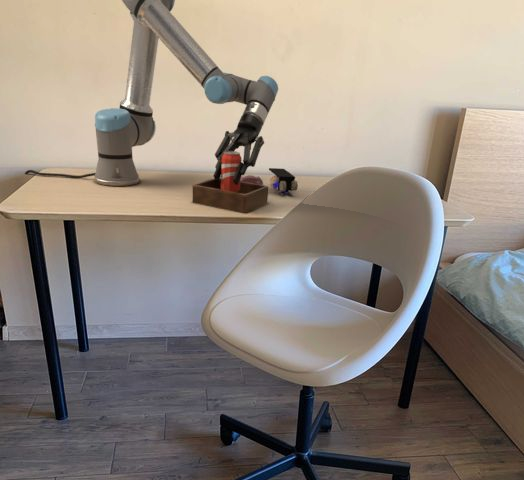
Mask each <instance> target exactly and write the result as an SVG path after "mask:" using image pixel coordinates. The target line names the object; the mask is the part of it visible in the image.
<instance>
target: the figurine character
mask: <svg viewBox="0 0 524 480" xmlns="http://www.w3.org/2000/svg"><path fill="white" fill-rule="evenodd" d="M268 171H270V172H271V174H274V175H273V176H272V177H271V178H270V179H269V180H270V181H269V185H270V186H271V187H272V189H274V190H276V191H279V194H280V195H281V196H282V197H284V196H285V194H287V195H288V196H289V197H292V193H290V192H295V191H298V188H299V187H298V186H299V183H298V181H297V180H296V176H295V175H293V174H292V173H290V172H289V171H288V170H286V168H277V167H275V168H274V167H269V168H268Z"/></svg>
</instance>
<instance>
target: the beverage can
mask: <svg viewBox="0 0 524 480" xmlns="http://www.w3.org/2000/svg"><path fill="white" fill-rule="evenodd" d="M242 160H243V159H242V156H241V152H239V151H236V150H235V151H224V155H223V156H222V167H221V176H220V178H221V189H222V190H226V191H231V192H237V191H239V190H240V180H239V183H238V185H235V183H234V181H233V178H234V175H235V173H236V171H237V169H238V166H239V164H240V162H242Z"/></svg>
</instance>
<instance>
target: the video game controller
mask: <svg viewBox="0 0 524 480" xmlns="http://www.w3.org/2000/svg"><path fill="white" fill-rule="evenodd" d="M240 181H242V182H247V183H253V184H258V185H264V181H263V180H262V178H261V177H260V176H255V175H251V174H249V175H245V176H244V175H242V176H241V178H240Z"/></svg>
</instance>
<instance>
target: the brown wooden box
mask: <svg viewBox="0 0 524 480" xmlns="http://www.w3.org/2000/svg"><path fill="white" fill-rule="evenodd" d="M191 187H192V203H194V204H199V205H203V206H208V207H213V208H218V209H223V210H228V211H233V212H237V213H242V214H247V213H249V212H251V211H253V210H257V209H258V208H260V207H262V206H265V205H267V204H268V201H269V200H268V197H269V186H268V185H264V184H263V185H258V184H253V183H247V182H242V181H240V190H239V191H237V192H231V191H226V190H222V189H221V177H220V178H219V180H218V181H216V180H215V178H214V177H213V178H210V179H207V180H204V181H199V182H197V183H194V184H192V186H191Z"/></svg>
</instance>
